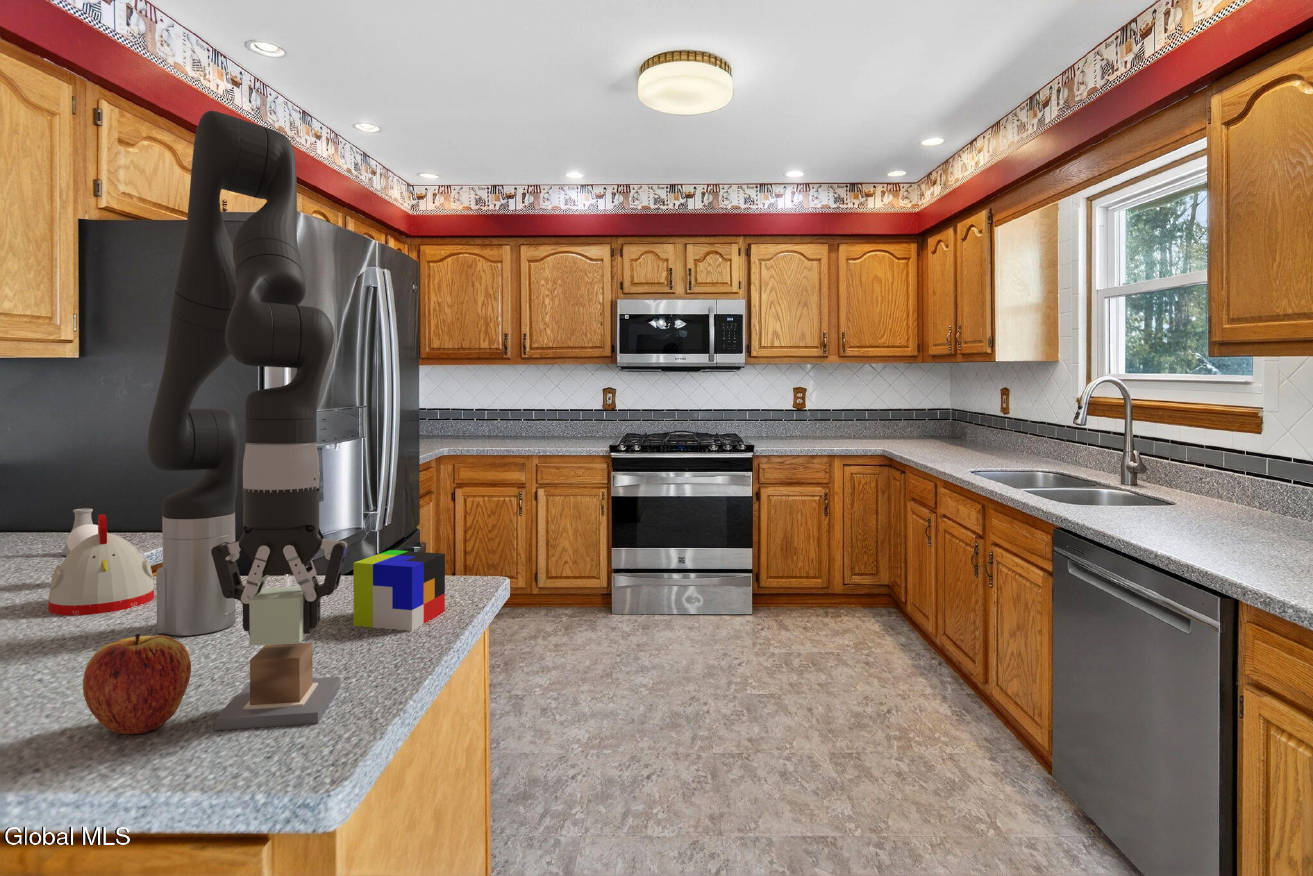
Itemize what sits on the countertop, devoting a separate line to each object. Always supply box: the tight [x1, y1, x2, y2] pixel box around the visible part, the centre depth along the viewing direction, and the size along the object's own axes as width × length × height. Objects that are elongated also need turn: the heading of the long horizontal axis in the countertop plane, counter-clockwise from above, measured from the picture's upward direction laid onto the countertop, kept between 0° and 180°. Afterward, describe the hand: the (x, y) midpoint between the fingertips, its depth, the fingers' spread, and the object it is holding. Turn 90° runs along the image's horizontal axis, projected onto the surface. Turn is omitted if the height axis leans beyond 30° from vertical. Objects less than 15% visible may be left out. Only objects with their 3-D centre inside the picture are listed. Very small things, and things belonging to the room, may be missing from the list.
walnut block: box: [249, 642, 313, 705], centre depth 78 cm, size 5×5×5 cm
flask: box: [60, 508, 94, 557], centre depth 153 cm, size 7×7×10 cm
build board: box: [214, 676, 341, 731], centre depth 79 cm, size 10×10×1 cm
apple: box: [82, 633, 192, 735], centre depth 73 cm, size 9×9×10 cm
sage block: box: [249, 586, 308, 646], centre depth 78 cm, size 5×5×5 cm
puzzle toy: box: [353, 549, 446, 632], centre depth 111 cm, size 10×10×10 cm
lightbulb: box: [66, 523, 98, 551], centre depth 129 cm, size 6×6×11 cm
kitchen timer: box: [48, 514, 155, 616], centre depth 117 cm, size 14×14×15 cm
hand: (282, 632), depth 78 cm, fingers closed on sage block, 5 cm apart
